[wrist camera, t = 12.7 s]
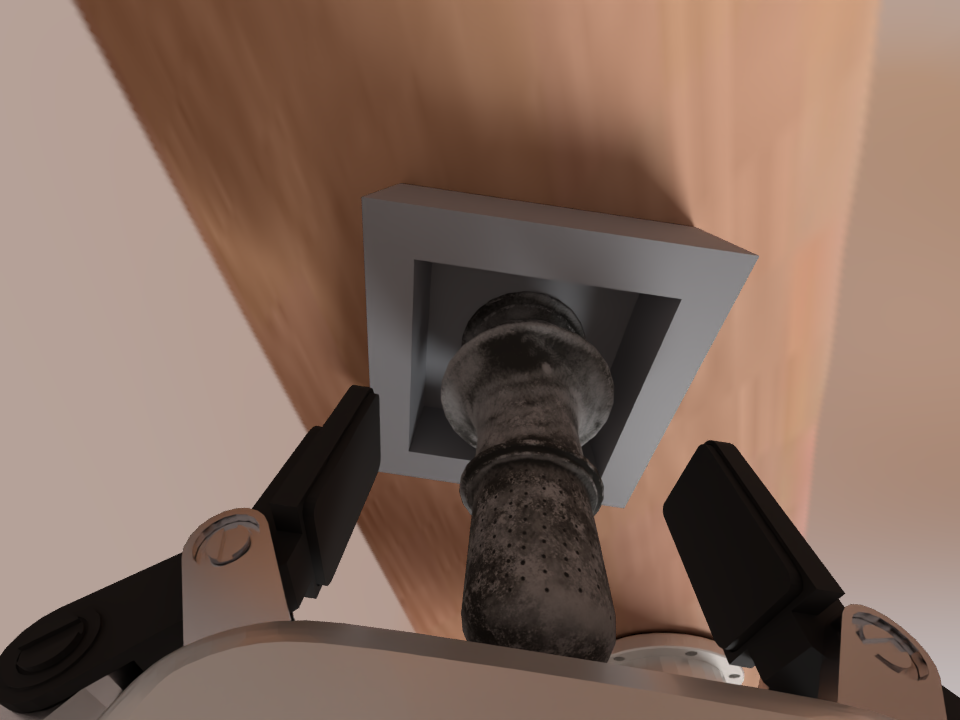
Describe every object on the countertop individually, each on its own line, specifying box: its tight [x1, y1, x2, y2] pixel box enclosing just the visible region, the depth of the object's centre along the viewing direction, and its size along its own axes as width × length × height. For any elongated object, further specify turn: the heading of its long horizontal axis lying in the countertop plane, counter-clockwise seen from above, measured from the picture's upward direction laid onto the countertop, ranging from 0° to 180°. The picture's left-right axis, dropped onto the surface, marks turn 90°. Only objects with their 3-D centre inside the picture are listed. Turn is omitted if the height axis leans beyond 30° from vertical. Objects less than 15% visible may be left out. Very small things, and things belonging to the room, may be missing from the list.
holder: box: [362, 183, 759, 508], centre depth 14 cm, size 11×11×4 cm
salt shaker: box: [441, 291, 616, 663], centre depth 10 cm, size 6×6×12 cm
